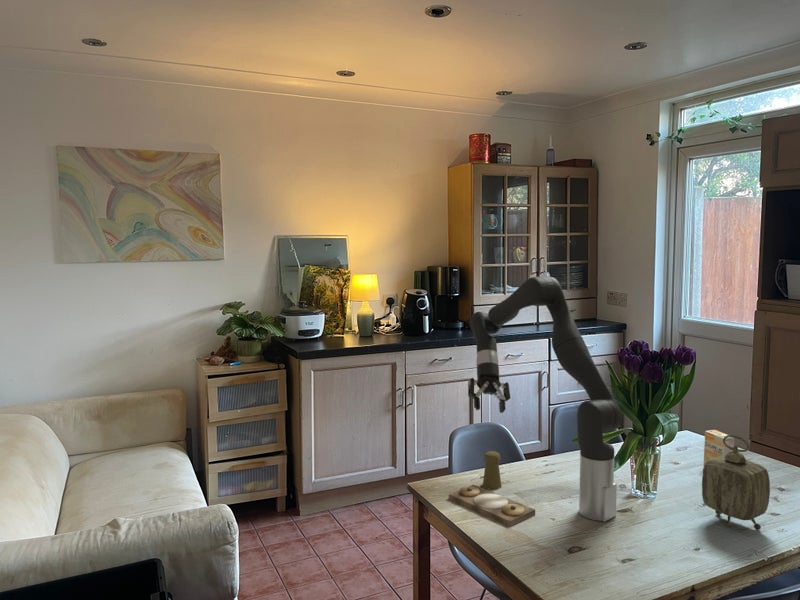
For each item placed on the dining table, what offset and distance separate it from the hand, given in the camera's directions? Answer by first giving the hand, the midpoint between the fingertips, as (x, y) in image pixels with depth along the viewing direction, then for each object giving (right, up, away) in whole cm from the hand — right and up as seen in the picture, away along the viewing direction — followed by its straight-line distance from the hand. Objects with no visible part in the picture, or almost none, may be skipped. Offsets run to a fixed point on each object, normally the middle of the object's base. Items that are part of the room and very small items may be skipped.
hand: (490, 410), depth 197 cm
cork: (0, -23, -6) cm, 24 cm away
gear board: (-3, -24, -22) cm, 33 cm away
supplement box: (+78, -21, +4) cm, 81 cm away
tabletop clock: (+61, -25, -34) cm, 74 cm away
